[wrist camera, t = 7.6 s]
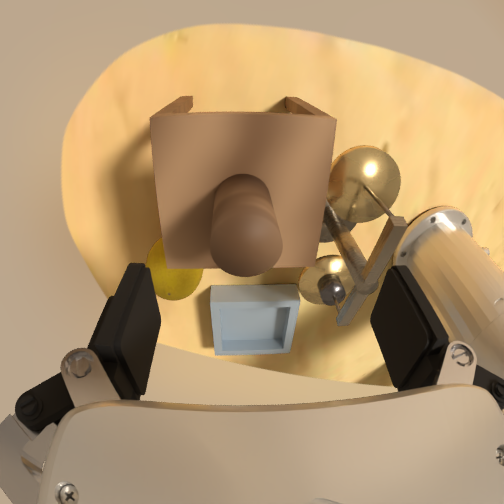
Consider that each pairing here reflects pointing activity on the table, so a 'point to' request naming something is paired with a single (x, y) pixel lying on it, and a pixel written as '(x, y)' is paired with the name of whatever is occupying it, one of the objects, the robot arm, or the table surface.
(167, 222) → the wooden stool
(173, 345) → the table surface
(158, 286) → the lemon
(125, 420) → the robot arm
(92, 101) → the table surface
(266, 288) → the dish
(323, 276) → the balance
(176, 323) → the table surface
